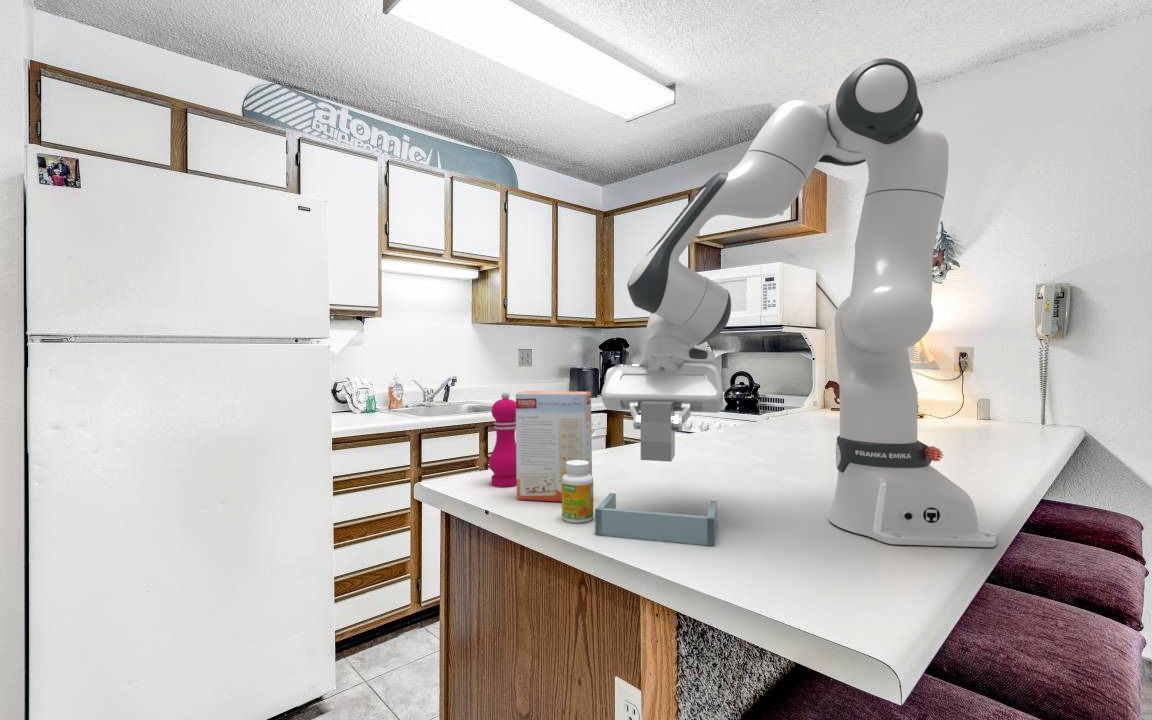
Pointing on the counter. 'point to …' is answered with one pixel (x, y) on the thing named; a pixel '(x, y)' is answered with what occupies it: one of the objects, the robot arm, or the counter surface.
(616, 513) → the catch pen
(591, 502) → the supplement bottle
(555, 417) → the cracker box
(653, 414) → the tile stack
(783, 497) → the counter surface
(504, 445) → the pepper mill
